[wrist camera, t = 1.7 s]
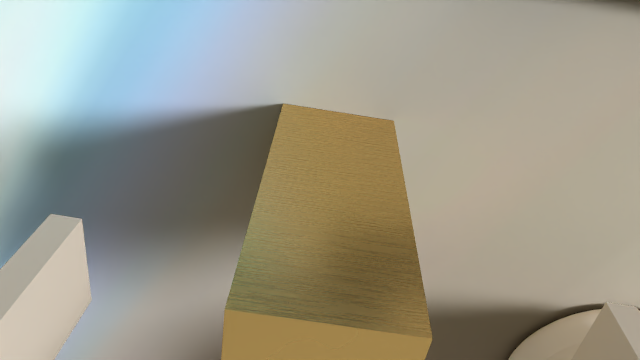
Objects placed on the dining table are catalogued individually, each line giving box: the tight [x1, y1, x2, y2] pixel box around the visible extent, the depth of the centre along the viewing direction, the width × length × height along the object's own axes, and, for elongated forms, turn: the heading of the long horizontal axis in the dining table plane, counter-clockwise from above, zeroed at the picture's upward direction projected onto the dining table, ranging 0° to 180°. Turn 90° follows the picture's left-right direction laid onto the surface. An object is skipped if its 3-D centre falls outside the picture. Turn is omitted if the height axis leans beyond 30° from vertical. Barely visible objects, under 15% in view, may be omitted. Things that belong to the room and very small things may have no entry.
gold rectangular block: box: [221, 104, 433, 360], centre depth 15 cm, size 4×4×10 cm
